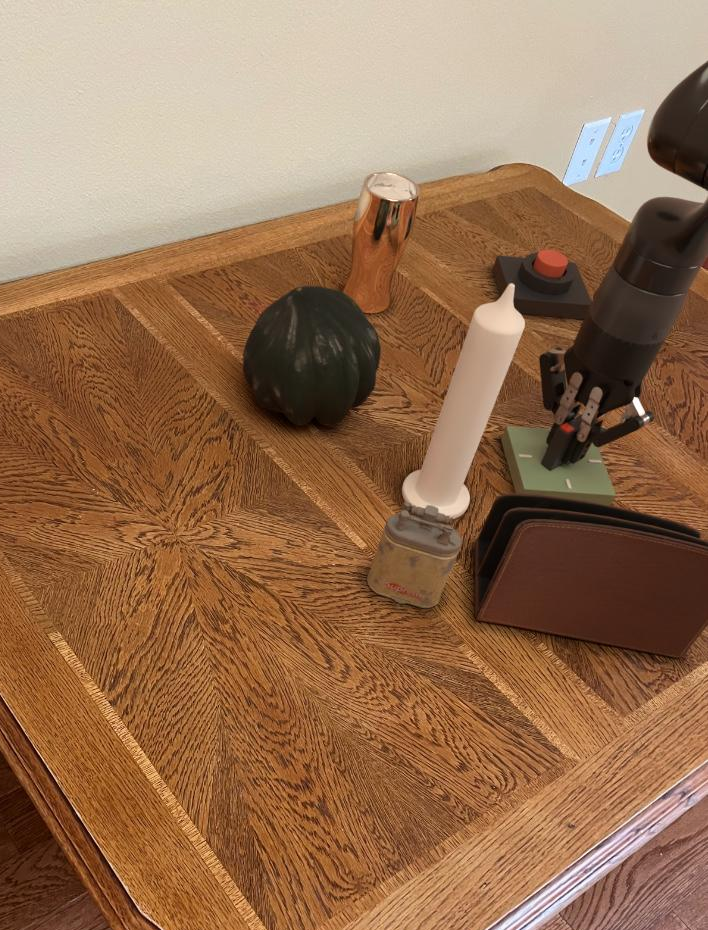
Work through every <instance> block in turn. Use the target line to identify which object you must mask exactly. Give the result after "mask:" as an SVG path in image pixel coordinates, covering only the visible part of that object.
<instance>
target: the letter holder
mask: <svg viewBox="0 0 708 930" xmlns="http://www.w3.org/2000/svg"><path fill="white" fill-rule="evenodd" d="M474 618H475V620H476V621H480V622H485V623H492V624H496V625H497V624H498V625H504V626H509V627H514V628H519V629H525V630H529V631H535V632H540V633H545V634H550V635H556V636H560V637H567V638H571V639H576V640H581V641H586V642H592V643H597V644H602V645H606V646H613V647H616V648H617V647H618V648H622V649H628V650H633V651H637V652H643V653H648V654H654V655H659V656H662V657H663V656H664V657H668V658H672V659H677V660H681V659H682V658H684V656H685V655H686V654H687V653H688V651H689V650H690V648H691V647H692V646H693V645H694V643H695V642H696V641H697V639H698V638H699V637H700V636H701V635H702V633H703V632H704V631H705V630H706V628H707V627H708V540H705V539H702V532H701V531H700V530H699V529H697V528H695V527H693V526H690V525H688V524H686V523H683V522H680V521H676V520H672V519H669V518H665V517H661V516H658V515H653V514H649V513H645V512H641V511H637V510H633V509H628V508H624V507H619V506H614V505H610V506H609V505H604V504H599V503H593V502H587V501H582V500H575V499H569V498H562V497H554V496H546V495H536V494H522V493H513V492H512V493H509V492H508V493H504V494H500V495H498V496H497V497H496V498H495V499H494V501H493V503H492V505H491V507H490V510H489V512H488V514H487V516H486V519H485V521H484V523H483V524H482V527H481V529H480V532H479V534H478V536H477V538H476V539H475V542H474Z"/></svg>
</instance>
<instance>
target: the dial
mask: <svg viewBox="0 0 708 930" xmlns="http://www.w3.org/2000/svg"><path fill="white" fill-rule="evenodd" d="M582 415H583V413H582V414H580V415H577V416H576V417H575V418H574V419H573V420H571V421H569V422H567V423H565V424H563V425H561V426H560V427H558V428H557V430H556V432H555V434H554V436H553V438H552V440H551V442H550V445H549V447H548V449H547V451H546V453H545V455H544V457H543V459H542V462H541V464H542V465H543V466H544V467H546V468H547V469H548V470H549V471H551V470H553V469H555V468H557V467H558V466H560V465H562V464H564V463H563V462H561V461H562V458H563V456H564V454H565V452H566V450H567V448H568V446H569V444H570V442H571V440H572V438H573V437H574V436H575V435H576V433H577V431H578V429H579V427H580V424H581V422H582V420H581V417H582Z"/></svg>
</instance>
